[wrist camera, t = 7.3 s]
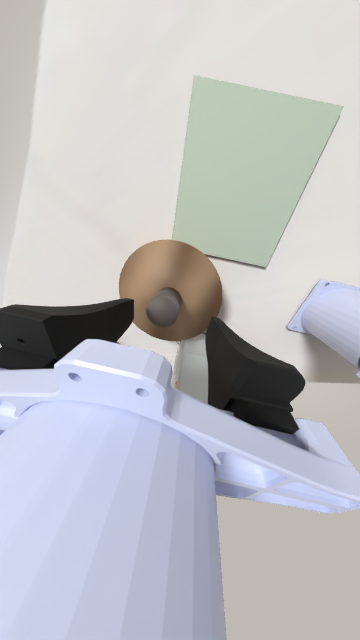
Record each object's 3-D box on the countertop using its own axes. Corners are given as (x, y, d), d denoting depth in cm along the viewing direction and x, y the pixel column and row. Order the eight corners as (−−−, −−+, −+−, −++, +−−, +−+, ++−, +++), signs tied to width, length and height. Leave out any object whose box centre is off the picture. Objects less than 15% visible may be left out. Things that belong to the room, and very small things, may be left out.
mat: (339, 110, 11) (343, 106, 11) (264, 266, 18) (265, 267, 18) (194, 80, 12) (193, 75, 11) (171, 246, 18) (170, 246, 18)
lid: (236, 253, 15) (255, 256, 10) (204, 341, 21) (206, 370, 16) (124, 229, 15) (88, 220, 10) (126, 324, 21) (104, 347, 16)
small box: (203, 366, 28) (208, 445, 17) (175, 358, 28) (160, 433, 17) (218, 337, 24) (236, 415, 13) (185, 328, 24) (174, 399, 13)
